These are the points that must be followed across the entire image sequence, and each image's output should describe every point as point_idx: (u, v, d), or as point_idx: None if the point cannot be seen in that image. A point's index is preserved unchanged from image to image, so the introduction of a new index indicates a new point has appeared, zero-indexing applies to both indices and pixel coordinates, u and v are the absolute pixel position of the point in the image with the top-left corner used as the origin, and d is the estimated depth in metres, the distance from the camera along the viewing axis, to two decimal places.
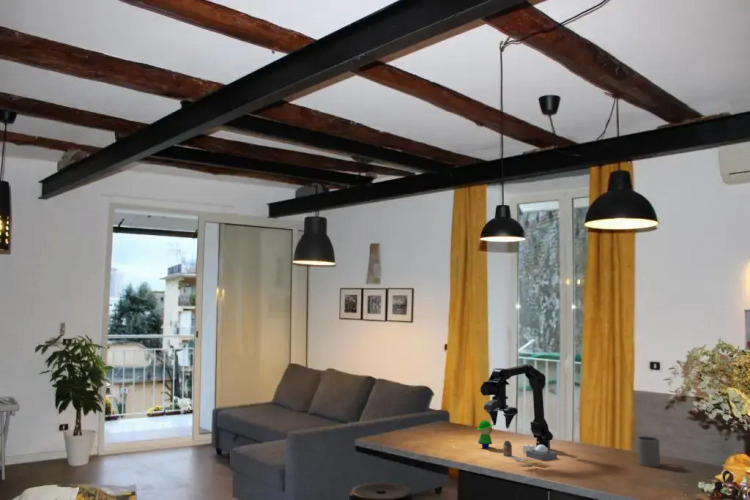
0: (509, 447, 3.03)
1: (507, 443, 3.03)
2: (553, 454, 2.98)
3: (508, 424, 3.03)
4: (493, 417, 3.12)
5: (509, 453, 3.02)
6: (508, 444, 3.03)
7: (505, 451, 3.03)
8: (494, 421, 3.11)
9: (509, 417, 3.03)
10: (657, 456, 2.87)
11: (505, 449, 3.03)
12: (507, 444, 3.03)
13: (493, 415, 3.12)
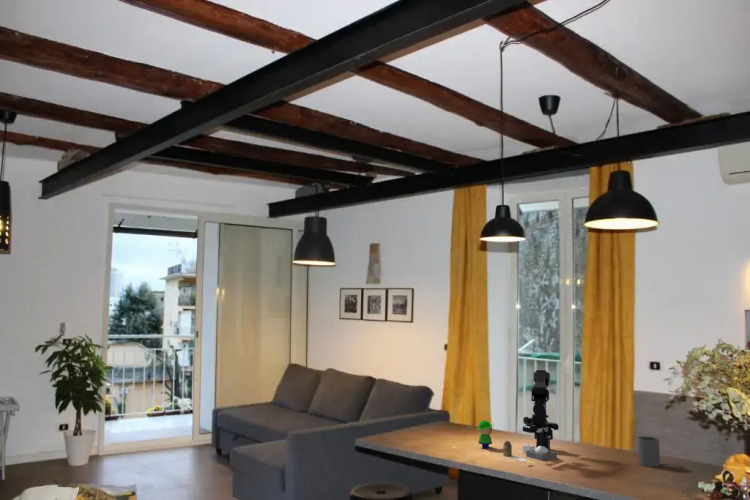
0: (509, 447, 3.03)
1: (507, 443, 3.03)
2: (553, 454, 2.98)
3: (539, 442, 3.01)
4: None
5: (509, 453, 3.02)
6: (508, 444, 3.03)
7: (505, 451, 3.03)
8: None
9: (539, 435, 3.00)
10: (657, 456, 2.87)
11: (505, 449, 3.03)
12: (507, 444, 3.03)
13: None
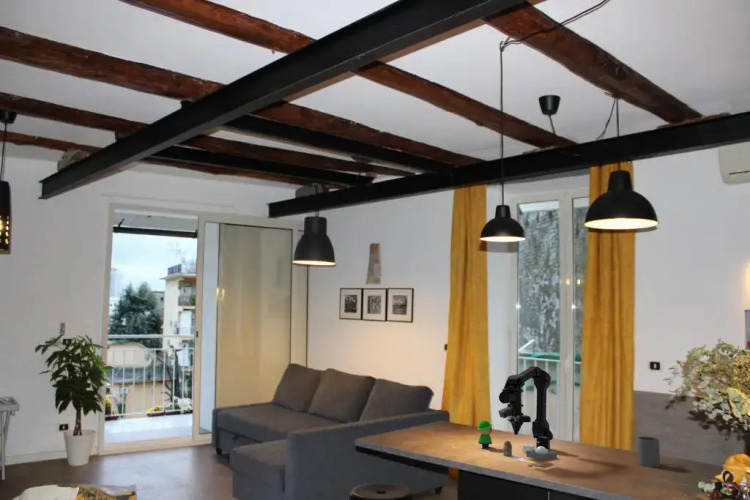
0: (509, 447, 3.03)
1: (507, 443, 3.03)
2: (553, 454, 2.98)
3: (517, 431, 3.03)
4: None
5: (509, 453, 3.02)
6: (508, 444, 3.03)
7: (505, 451, 3.03)
8: None
9: (518, 424, 3.03)
10: (657, 456, 2.87)
11: (505, 449, 3.03)
12: (507, 444, 3.03)
13: None
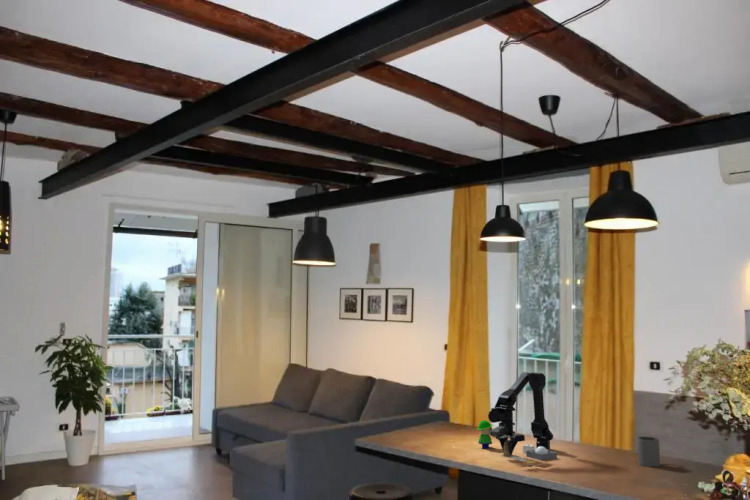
0: None
1: (507, 443, 3.03)
2: (553, 454, 2.98)
3: (511, 450, 3.02)
4: (503, 444, 3.06)
5: (509, 453, 3.02)
6: (508, 444, 3.03)
7: (505, 450, 3.03)
8: None
9: (512, 443, 3.02)
10: (657, 456, 2.87)
11: (505, 449, 3.03)
12: (507, 444, 3.03)
13: (503, 442, 3.07)
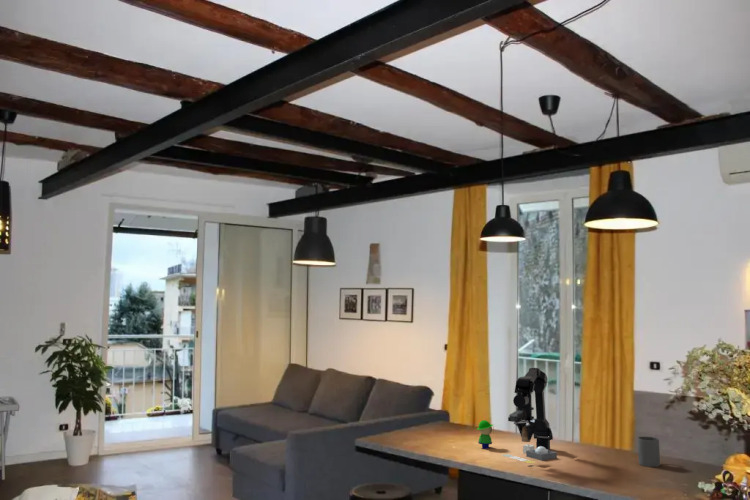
0: (527, 432, 2.92)
1: (525, 428, 2.93)
2: (553, 454, 2.98)
3: (530, 436, 2.91)
4: (521, 430, 2.96)
5: (527, 438, 2.92)
6: (526, 429, 2.93)
7: (523, 436, 2.92)
8: None
9: (531, 428, 2.91)
10: (657, 456, 2.87)
11: (523, 434, 2.92)
12: (525, 429, 2.93)
13: (521, 427, 2.96)
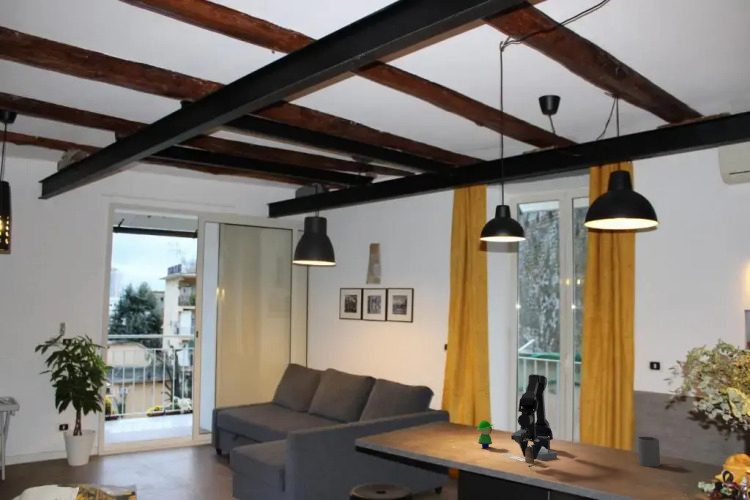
0: (531, 453, 2.90)
1: (529, 449, 2.90)
2: (553, 454, 2.98)
3: (536, 455, 2.88)
4: (523, 448, 2.94)
5: (531, 459, 2.89)
6: (530, 450, 2.90)
7: (527, 457, 2.90)
8: (524, 452, 2.94)
9: (537, 448, 2.88)
10: (657, 456, 2.87)
11: (527, 455, 2.90)
12: (529, 450, 2.90)
13: (523, 446, 2.95)
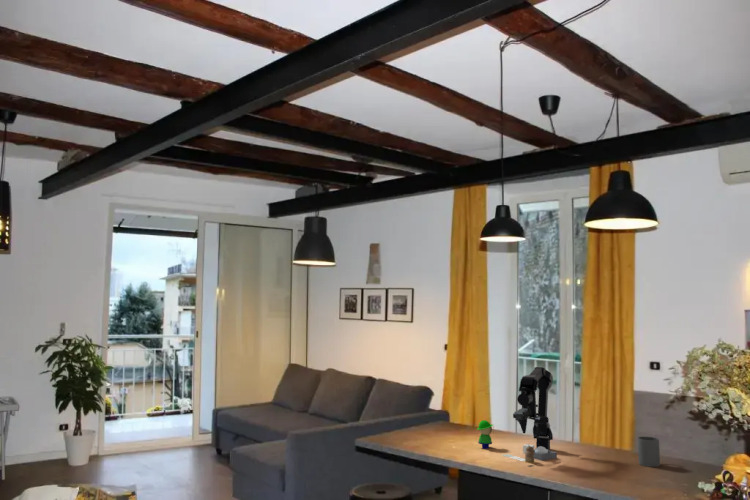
0: (531, 453, 2.90)
1: (529, 449, 2.90)
2: (553, 454, 2.98)
3: (539, 433, 3.00)
4: (523, 425, 3.08)
5: (531, 459, 2.89)
6: (530, 450, 2.90)
7: (528, 456, 2.90)
8: (524, 429, 3.08)
9: (540, 426, 3.00)
10: (657, 456, 2.87)
11: (527, 455, 2.90)
12: (529, 450, 2.90)
13: (523, 423, 3.09)
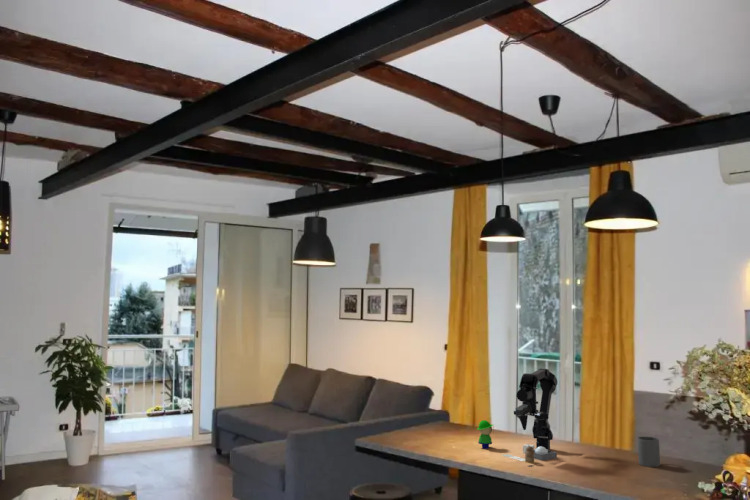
0: (532, 453, 2.90)
1: (530, 449, 2.90)
2: (553, 454, 2.98)
3: (539, 429, 3.05)
4: (523, 422, 3.13)
5: (531, 459, 2.89)
6: (531, 450, 2.90)
7: (528, 457, 2.90)
8: (524, 426, 3.13)
9: (540, 422, 3.05)
10: (657, 456, 2.87)
11: (527, 455, 2.90)
12: (530, 450, 2.90)
13: (523, 420, 3.14)
